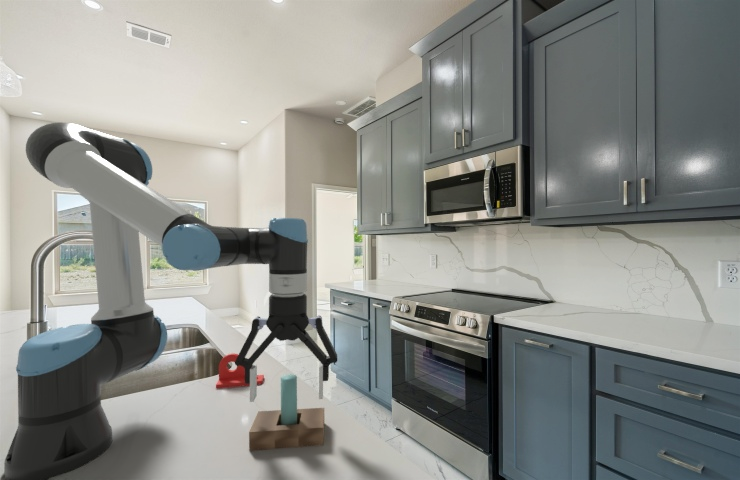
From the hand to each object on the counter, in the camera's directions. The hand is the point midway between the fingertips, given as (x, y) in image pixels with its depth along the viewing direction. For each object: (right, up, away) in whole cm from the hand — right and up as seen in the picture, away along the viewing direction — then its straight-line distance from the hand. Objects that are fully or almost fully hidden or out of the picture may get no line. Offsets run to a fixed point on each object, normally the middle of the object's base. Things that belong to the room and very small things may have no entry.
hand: (287, 397), depth 71 cm
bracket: (-19, -8, +26) cm, 34 cm away
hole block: (0, -8, 0) cm, 8 cm away
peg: (0, -8, 0) cm, 8 cm away
